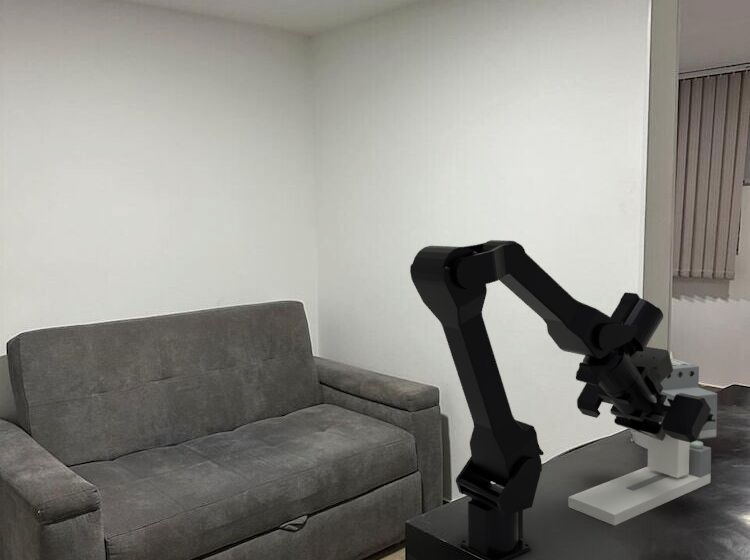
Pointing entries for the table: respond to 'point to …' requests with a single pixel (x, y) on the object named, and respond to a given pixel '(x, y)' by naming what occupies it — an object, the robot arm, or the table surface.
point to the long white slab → (643, 489)
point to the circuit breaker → (688, 383)
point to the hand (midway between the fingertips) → (661, 437)
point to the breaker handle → (668, 456)
